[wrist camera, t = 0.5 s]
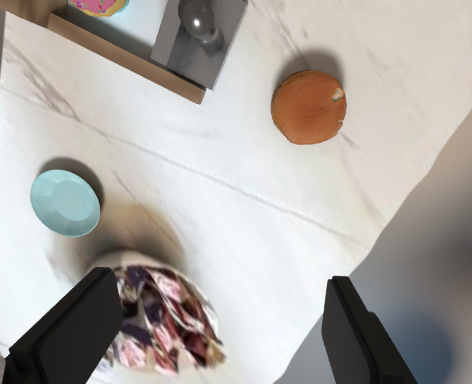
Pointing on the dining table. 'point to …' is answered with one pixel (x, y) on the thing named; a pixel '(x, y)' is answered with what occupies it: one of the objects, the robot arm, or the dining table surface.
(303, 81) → the burger
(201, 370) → the dining table surface
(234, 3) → the ram
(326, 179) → the dining table surface
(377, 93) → the dining table surface
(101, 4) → the cupcake
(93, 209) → the saucer
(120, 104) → the dining table surface
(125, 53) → the press bed
